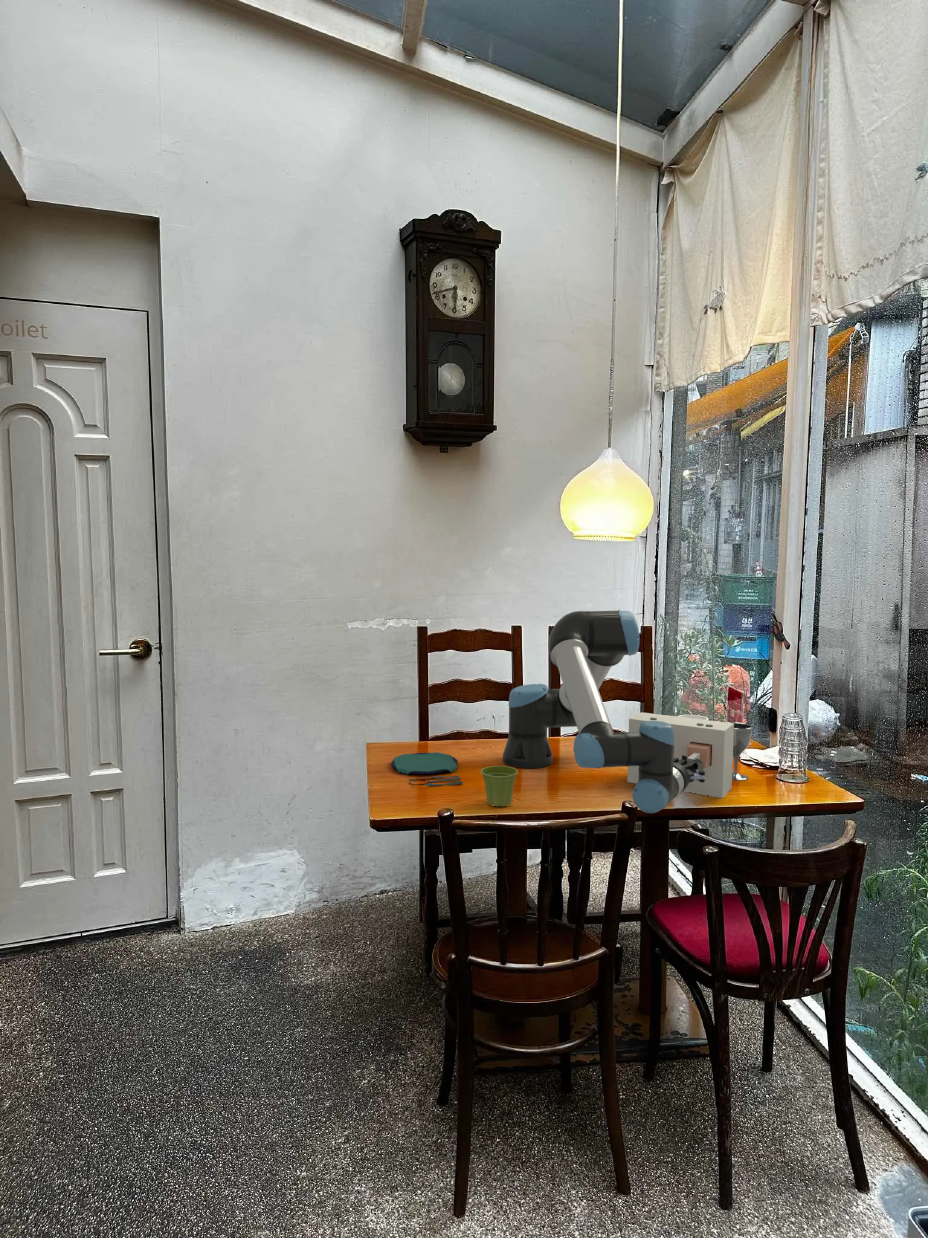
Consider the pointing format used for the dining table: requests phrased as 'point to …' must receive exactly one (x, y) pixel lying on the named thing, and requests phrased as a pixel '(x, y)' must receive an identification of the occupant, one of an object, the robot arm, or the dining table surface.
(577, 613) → the robot arm
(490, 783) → the plant pot
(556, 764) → the dining table surface
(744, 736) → the wine glass
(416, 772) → the cutlery set
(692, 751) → the terracotta button
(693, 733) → the console
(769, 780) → the dining table surface
